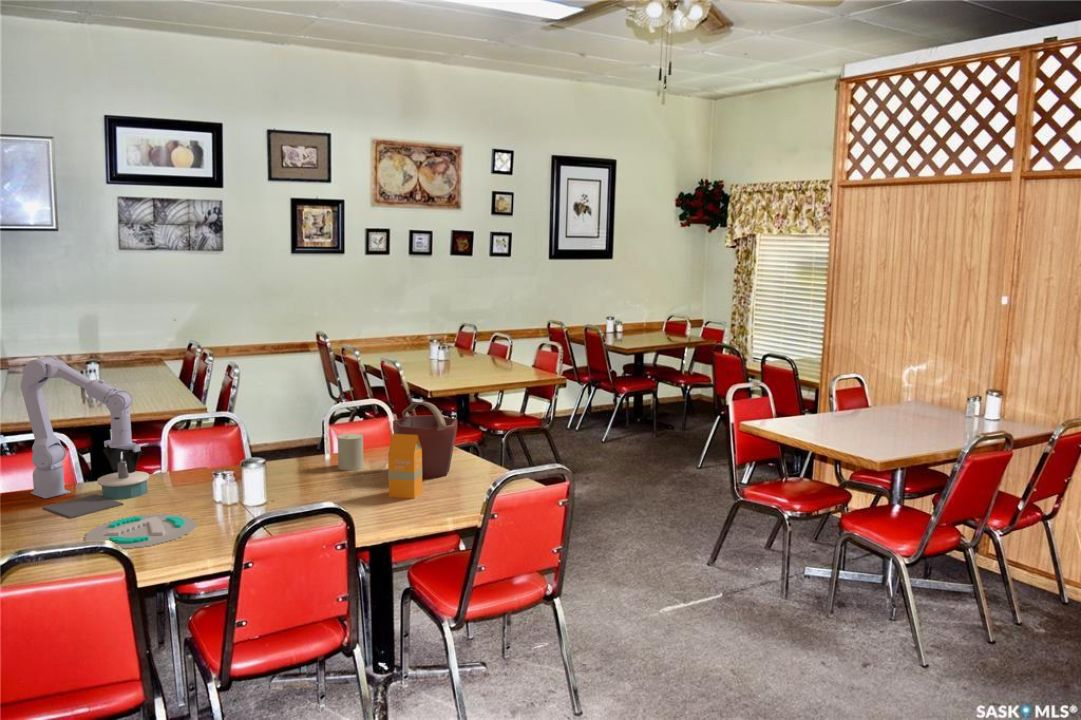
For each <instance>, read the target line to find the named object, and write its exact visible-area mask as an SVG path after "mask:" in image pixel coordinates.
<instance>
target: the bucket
mask: <svg viewBox="0 0 1081 720" xmlns="http://www.w3.org/2000/svg"><path fill="white" fill-rule="evenodd" d="M419 405H423V406H424V407H427V408H428V410H429V411H430V412H431V414H432V415H431V414H430V415H429V414H428V415H410V413H409V412H412V411H413V410H415V409H416V408H417V407H418V406H419ZM401 415H402V418H399V419H395V420H392V431H393V434H410V435H418V438H419V441H420V444H421V448H422V480H430V479H431V480H432V479H437V478H442V477H447V476H448V473H449V472H450V468H451V464H452V459H453V458H452V457H453V452H454V447H455V442H456V436H457V430H458V418H455V417H449V416H444V415H443V414H442V412H441V411H440V409H439V408H438V407H437V406H436V405H435V404H433V403H431V402H428V401H417V402H412V403H411V404H410V405H408V406H407V407H406V408H405V409H403V410H402V412H401Z"/></svg>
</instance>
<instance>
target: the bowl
mask: <svg viewBox="0 0 1081 720" xmlns="http://www.w3.org/2000/svg"><path fill="white" fill-rule="evenodd" d="M147 493H148V480H146V481H144V482H141V483H138V484H133V485H128V486H116V487H110V486H102V485H101V496H102V497H105V498H108V499H111V500H126V499H127V500H128V499H134V498H137V497H141V496H143V495H145V494H147Z"/></svg>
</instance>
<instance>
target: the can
mask: <svg viewBox="0 0 1081 720" xmlns="http://www.w3.org/2000/svg"><path fill="white" fill-rule="evenodd" d="M337 458H338V459H337V469H338V470H340V471H358V470H361V469H363V468H364V467H365V465H364V464H365V463H364V435H363V434H361V433H355V432H354V433H344V434H343V433H342V434H339V435H338V436H337Z"/></svg>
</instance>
